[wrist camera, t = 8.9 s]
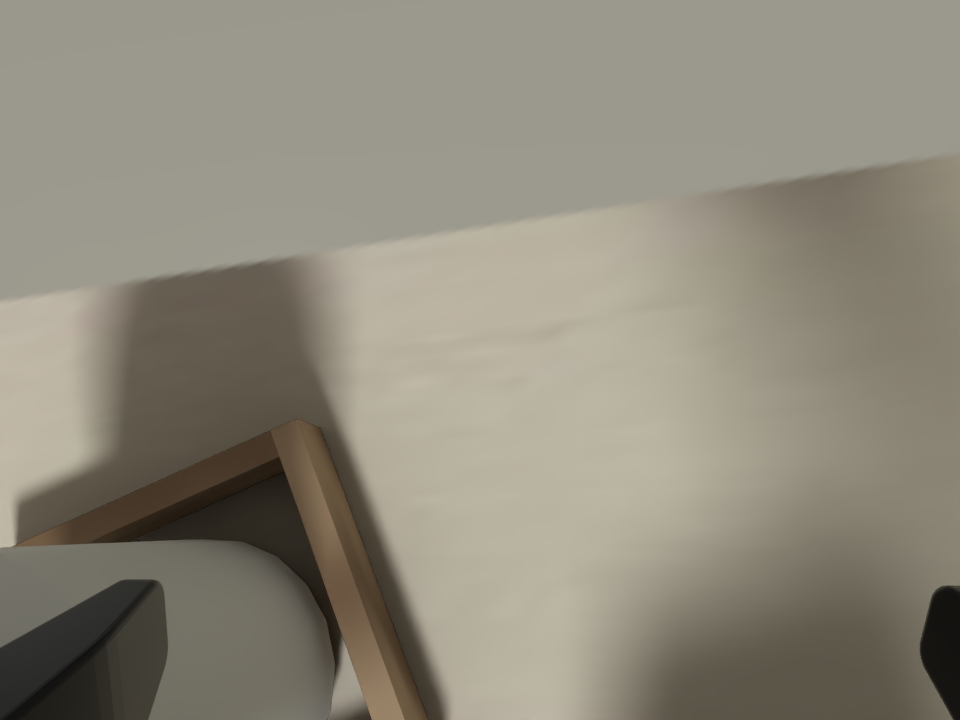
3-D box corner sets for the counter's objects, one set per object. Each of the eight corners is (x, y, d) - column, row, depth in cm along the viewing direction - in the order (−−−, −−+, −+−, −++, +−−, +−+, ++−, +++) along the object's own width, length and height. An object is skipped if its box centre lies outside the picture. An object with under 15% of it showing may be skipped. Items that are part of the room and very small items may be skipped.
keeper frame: (450, 781, 21) (436, 807, 19) (104, 928, 21) (55, 969, 19) (319, 427, 23) (295, 418, 21) (14, 565, 24) (-37, 568, 22)
